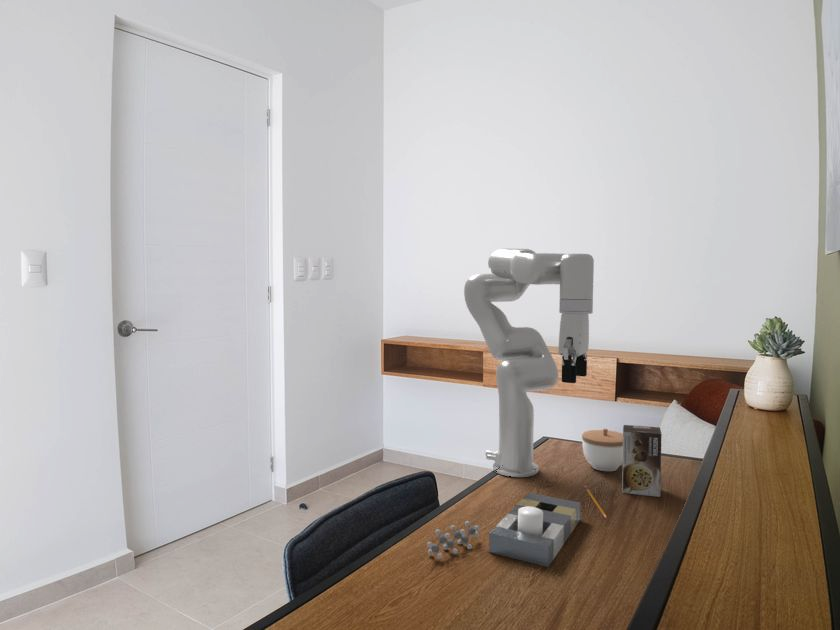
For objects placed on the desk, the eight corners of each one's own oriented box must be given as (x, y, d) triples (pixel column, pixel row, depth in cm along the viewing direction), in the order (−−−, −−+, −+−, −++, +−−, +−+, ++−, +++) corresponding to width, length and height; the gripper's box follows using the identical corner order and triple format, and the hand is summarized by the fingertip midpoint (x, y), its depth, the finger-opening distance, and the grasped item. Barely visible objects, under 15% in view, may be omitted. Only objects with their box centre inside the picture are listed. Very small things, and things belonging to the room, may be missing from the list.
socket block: (489, 552, 116) (489, 532, 116) (528, 509, 137) (528, 492, 137) (548, 567, 110) (548, 546, 110) (580, 519, 131) (580, 502, 131)
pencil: (585, 488, 151) (583, 486, 151) (587, 487, 151) (586, 484, 151) (605, 520, 132) (604, 517, 132) (608, 519, 132) (607, 516, 132)
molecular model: (434, 566, 111) (434, 540, 111) (420, 557, 114) (420, 533, 114) (485, 544, 120) (485, 521, 119) (470, 537, 123) (470, 514, 123)
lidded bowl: (584, 473, 161) (585, 434, 160) (578, 459, 174) (579, 422, 173) (632, 475, 159) (633, 436, 159) (622, 461, 172) (623, 424, 171)
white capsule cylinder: (513, 546, 118) (514, 513, 118) (521, 536, 123) (522, 504, 122) (538, 552, 116) (539, 519, 115) (545, 542, 121) (546, 509, 120)
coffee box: (659, 488, 150) (661, 427, 149) (660, 497, 144) (662, 433, 143) (621, 484, 153) (623, 423, 152) (621, 493, 147) (623, 430, 146)
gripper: (569, 304, 146) (568, 372, 147) (549, 308, 131) (547, 383, 132) (600, 305, 142) (598, 374, 144) (582, 309, 127) (581, 387, 128)
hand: (574, 379), depth 138 cm, fingers open, 9 cm apart
